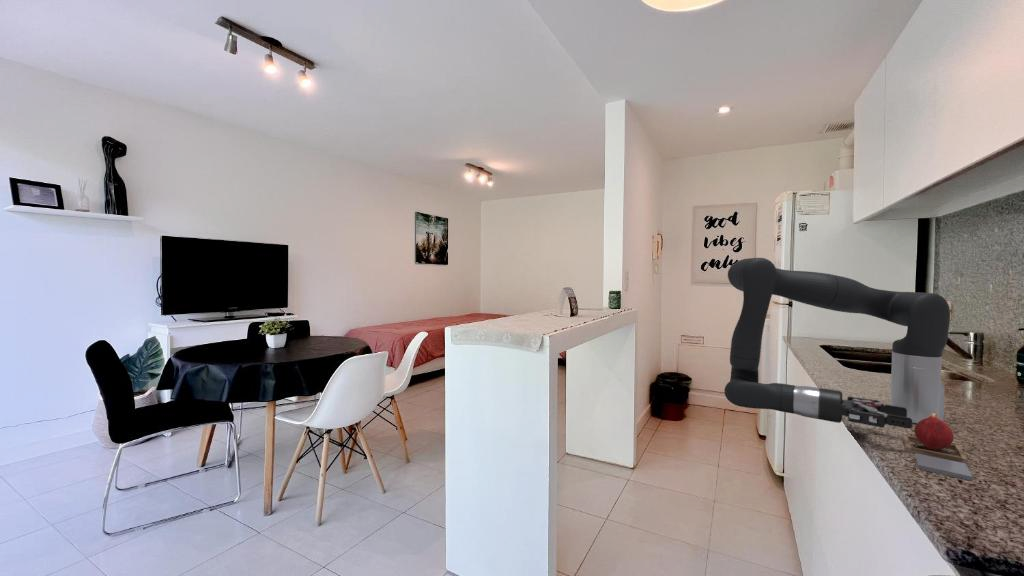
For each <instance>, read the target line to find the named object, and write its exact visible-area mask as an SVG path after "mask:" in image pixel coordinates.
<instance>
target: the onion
mask: <svg viewBox="0 0 1024 576" xmlns="http://www.w3.org/2000/svg"><path fill="white" fill-rule="evenodd" d="M913 432H914V435H915V437H917V439H918V440H919V441H920V442H921V443H922V445H923V446H924V447H926V448H927V450H929V451H934V452H938V451H940V450H943V449H947V448H946V447H948V446H949V445H950V444H953V441H954V433H953V430H952V429H951V427H950V426H949V425H948V424H947V423H945V421H944V420H943V421H941V420H940V419H939V418H938V415H936V414H934V413H933V414H931V416H930V417H929V418H925V419H923V420H921V421H919V422H918V423H915V426H914V431H913ZM921 443H920V444H921Z"/></svg>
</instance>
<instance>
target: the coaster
mask: <svg viewBox="0 0 1024 576" xmlns="http://www.w3.org/2000/svg"><path fill="white" fill-rule="evenodd" d="M914 457H915V458H914V459H915V462H916V464H917V465H916V466H917V469H918V470H922V471H926V472H931V473H935V474H940V475H944V476H948V477H953V478H958V479H961V480H967V481H971V482H973V481H974V479H973V478H974V476H973V474H972V473H971V471H970V469H969V468H968V466H967V464H965V463H961V462H956V461H951V460H946V459H942V458H937V457H932V456H927V455H922V454H917V453H914Z"/></svg>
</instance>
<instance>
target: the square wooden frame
mask: <svg viewBox="0 0 1024 576" xmlns="http://www.w3.org/2000/svg"><path fill="white" fill-rule="evenodd" d="M902 441H903V445H904V448H905V452H906V451H907V452H906V453H911V452H912V453H911V454H915V453H917V454H922V455H927V456H932V457H937V458H942V459H946V460H951V461H956V462H961V463H965V464H966V465H968V463H969V462H968V461H969V459H968V457H967V455H966V454H965V452H964V451H963V449H962V447H961V446H960V445H959V444H955V443H951V444H950V445H949V446H948V447H946V448H945V449H946V450H947V449H949V450H952V451H955V452H956V454H957V455H954V454H949V453H944V452H938V451H932V450H930V449H922V448H919V447H913V446H911V444H910V442H913V443H916V444H922V443H921V442H920V441H919V440H918V439H917V437H916V436H911V435H906V434H903V435H902ZM922 445H923V444H922Z"/></svg>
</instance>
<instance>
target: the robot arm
mask: <svg viewBox="0 0 1024 576" xmlns="http://www.w3.org/2000/svg"><path fill="white" fill-rule="evenodd" d="M727 279H728V281H729V283H730V285H732V287H734V288H735V289H736V290H738V291H740V292H742V293H743V301H742V308H741V312H740V315H739V318H738V320H737V322H736V325H735V327H734V329H733V332H732V337H731V341H730V352H729V364H730V366H731V367H730V368H731V369H730V370H731V371H730V380H729V382H727V384H726V385H725V387H724V390H723V391H724V396H725V398H726V399H727V401H729V403H731V404H733V405H735V406H737V407H740V408H748V409H756V410H757V409H759V410H773V411H776V412H777V411H778V412H782V413H788V414H794V415H798V416H802V417H805V418H809V419H810V418H811V419H816V420H821V421H826V422H833V423H837V424H840V423H842V419H843V416H845V417H847V418H848V419H847V420H848V422H851V423H855V424H861V425H862V424H863V425H866V426H873V427H876V428H881V429H882V428H885V427H888V426H893V427H897V428H904V429H912V428H913V424H917V423H918V422H919V421H921V420H923V419H925V418H929V417H930V416H931V414H933V413H934V414H936V415H938V418H939V419H940V420H941V421H943V422H944V415H945V414H944V411H945V410H944V408H945V389H946V388H945V386H944V385H942V364H943V362H942V361H943V360H942V359H943V351H944V348H945V347H946V346H947V343H948V338H949V337H948V336H949V330H950V321H951V309H950V305H949V303H948V301H947V300H946V298H945V297H943V296H942V295H940V294H937V293H934V292H933V293H932V292H918V291H917V292H915V291H895V290H893V291H892V290H885V289H879V288H873V287H871V286H868V285H866V284H864V283H862V282H860V281H858V280H855V279H852V278H849V277H846V276H840V275H837V274H832V273H827V272H818V271H808V270H807V271H805V270H788V269H782V268H778V267H776V266H775V264H774V263H773V262H772V261H771V260H769V259H767V258H765V257H750V258H749V257H748V258H743V259H739V260H738V261H736V262H734V263H733V264H732V265H731V266H730V267H728V270H727ZM772 296H779V297H783V298H785V299H789V300H792V301H794V302H797V303H801V304H805V305H809V306H813V307H816V308H820V309H825V310H830V311H833V312H834V311H835V312H841V313H847V314H848V313H849V314H861V315H867V316H871V317H875V318H878V319H881V320H885V321H888V322H889V323H892V324H896V325H899V326H903V327H907V331H906V334H905V336H904V337H903V338H899V339H896V340H894V341H893V342H892V347H891V350H892V351H891V370H890V371H891V373H890V374H891V375H890V377H891V379H890V400H889V402H890V403H889V404H885V403H884V402H880V400H878V399H868V398H861V397H856V396H855V397H853V396H847V399H843V392H842V391H841V390H836V389H830V388H823V387H815V386H810V385H809V386H808V385H807V386H806V385H794V384H787V383H779V382H772V383H762V382H759V379H760V378H759V365H760V361H761V360H760V359H761V352H762V350H761V349H762V341H763V333H764V328H765V324H766V319H767V315H768V311H769V307H770V304H771V299H772Z"/></svg>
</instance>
